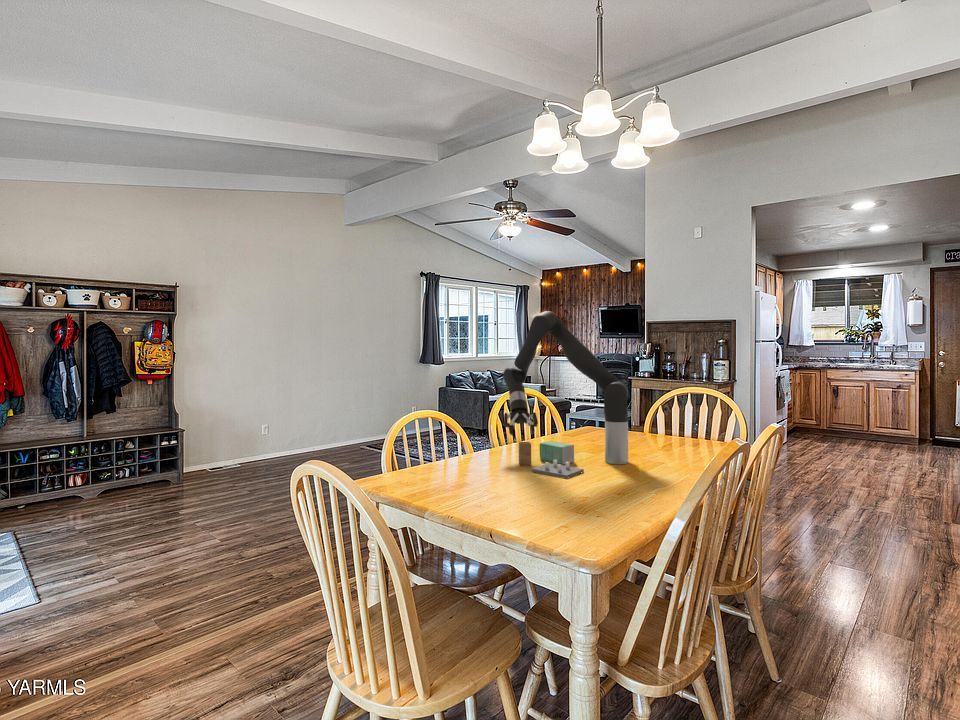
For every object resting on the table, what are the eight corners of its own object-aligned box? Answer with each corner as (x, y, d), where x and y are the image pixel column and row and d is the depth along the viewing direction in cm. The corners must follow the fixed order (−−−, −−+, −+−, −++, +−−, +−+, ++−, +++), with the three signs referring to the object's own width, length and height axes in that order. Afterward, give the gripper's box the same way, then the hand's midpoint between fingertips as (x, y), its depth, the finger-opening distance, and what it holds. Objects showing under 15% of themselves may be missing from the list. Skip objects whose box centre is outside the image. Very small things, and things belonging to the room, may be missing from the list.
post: (518, 463, 223) (518, 442, 223) (529, 463, 224) (529, 441, 223) (520, 466, 219) (520, 444, 218) (531, 465, 219) (531, 443, 219)
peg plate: (548, 466, 218) (548, 457, 218) (583, 472, 208) (583, 462, 208) (531, 471, 209) (531, 462, 209) (566, 478, 199) (566, 468, 199)
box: (551, 456, 235) (551, 439, 235) (574, 462, 225) (574, 444, 224) (539, 459, 231) (539, 442, 231) (562, 465, 220) (562, 447, 220)
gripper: (503, 398, 236) (506, 429, 225) (535, 398, 237) (540, 428, 226) (501, 409, 241) (504, 439, 230) (533, 408, 242) (537, 438, 231)
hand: (522, 434), depth 228 cm, fingers open, 8 cm apart
